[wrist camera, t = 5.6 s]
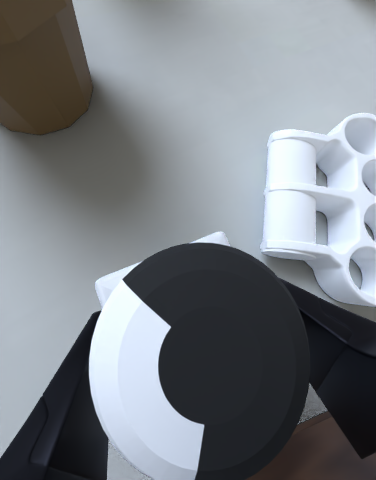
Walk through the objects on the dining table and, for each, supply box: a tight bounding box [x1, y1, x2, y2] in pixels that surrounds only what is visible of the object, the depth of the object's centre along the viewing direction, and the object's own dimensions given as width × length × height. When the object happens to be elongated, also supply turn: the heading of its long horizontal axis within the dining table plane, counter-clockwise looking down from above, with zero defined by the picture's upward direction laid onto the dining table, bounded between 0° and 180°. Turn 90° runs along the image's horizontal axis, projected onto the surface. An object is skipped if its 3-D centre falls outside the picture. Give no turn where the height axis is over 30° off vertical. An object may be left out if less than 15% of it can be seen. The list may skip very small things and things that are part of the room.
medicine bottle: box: [89, 232, 310, 480], centre depth 10 cm, size 7×7×12 cm
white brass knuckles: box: [260, 113, 376, 307], centre depth 19 cm, size 3×18×15 cm
